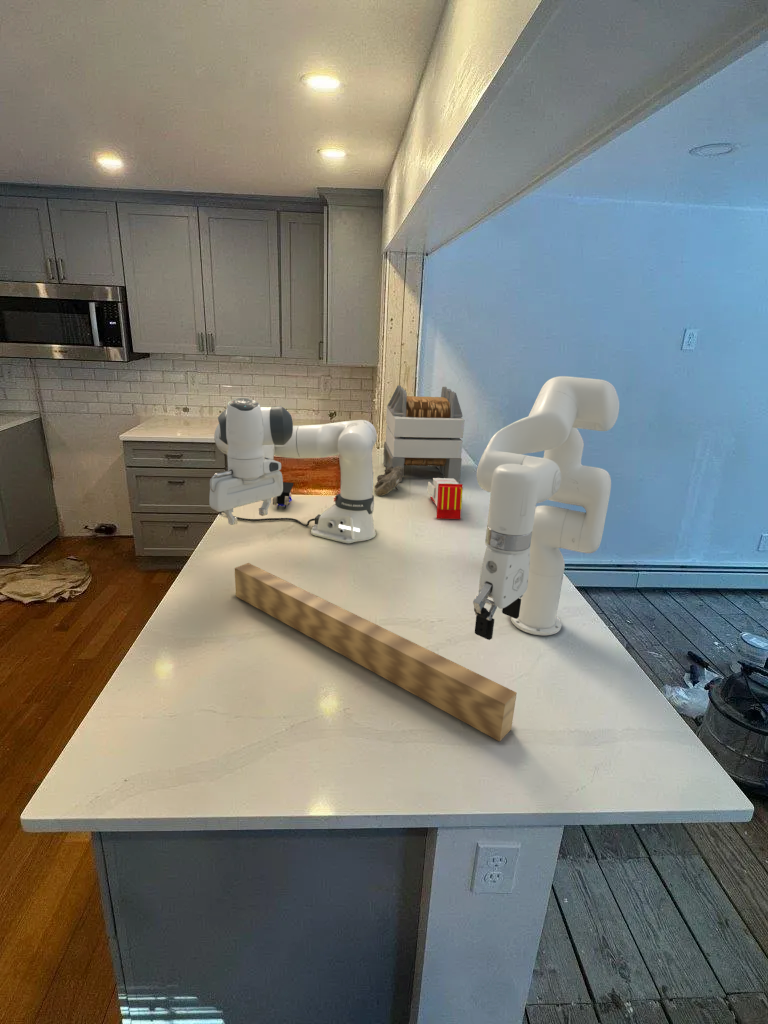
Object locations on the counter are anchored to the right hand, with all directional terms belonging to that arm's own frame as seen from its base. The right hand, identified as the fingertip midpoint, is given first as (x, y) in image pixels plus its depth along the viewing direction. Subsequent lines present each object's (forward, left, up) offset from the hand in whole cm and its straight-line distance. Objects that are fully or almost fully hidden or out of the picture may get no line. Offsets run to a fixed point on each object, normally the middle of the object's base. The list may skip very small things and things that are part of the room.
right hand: (497, 625), depth 102 cm
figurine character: (-110, -79, -22) cm, 138 cm away
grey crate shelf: (-173, -33, -22) cm, 178 cm away
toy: (-126, -17, -22) cm, 129 cm away
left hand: (-36, -62, +1) cm, 71 cm away
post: (-18, -31, -22) cm, 42 cm away
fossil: (-143, -43, -22) cm, 151 cm away
